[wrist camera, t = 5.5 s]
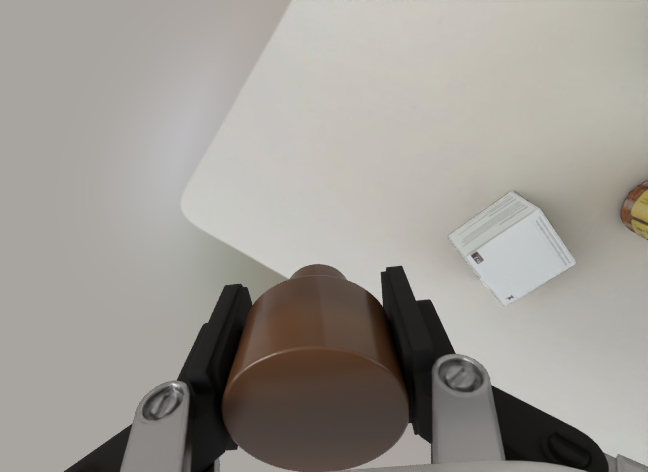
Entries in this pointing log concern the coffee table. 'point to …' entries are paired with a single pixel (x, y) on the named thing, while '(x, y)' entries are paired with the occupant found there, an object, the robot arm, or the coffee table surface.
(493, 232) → the small box
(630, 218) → the sauce bottle
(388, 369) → the stopper
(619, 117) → the coffee table surface
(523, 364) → the coffee table surface
